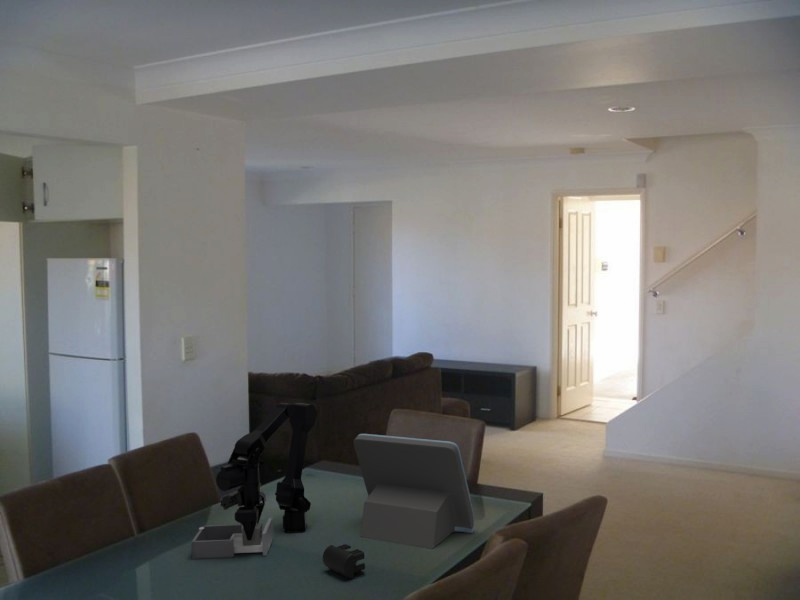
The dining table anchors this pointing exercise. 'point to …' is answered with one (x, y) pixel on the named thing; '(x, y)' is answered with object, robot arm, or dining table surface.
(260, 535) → the dice cube
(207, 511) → the dining table surface
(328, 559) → the end cap
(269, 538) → the tray
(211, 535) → the housing
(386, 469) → the touchscreen device
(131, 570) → the dining table surface
